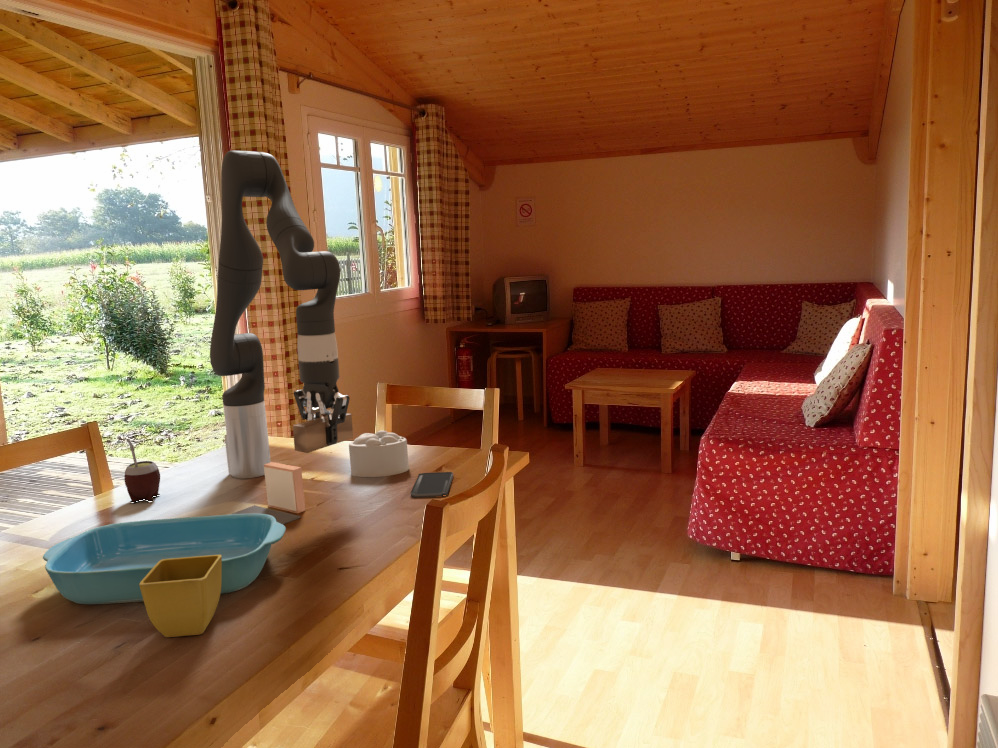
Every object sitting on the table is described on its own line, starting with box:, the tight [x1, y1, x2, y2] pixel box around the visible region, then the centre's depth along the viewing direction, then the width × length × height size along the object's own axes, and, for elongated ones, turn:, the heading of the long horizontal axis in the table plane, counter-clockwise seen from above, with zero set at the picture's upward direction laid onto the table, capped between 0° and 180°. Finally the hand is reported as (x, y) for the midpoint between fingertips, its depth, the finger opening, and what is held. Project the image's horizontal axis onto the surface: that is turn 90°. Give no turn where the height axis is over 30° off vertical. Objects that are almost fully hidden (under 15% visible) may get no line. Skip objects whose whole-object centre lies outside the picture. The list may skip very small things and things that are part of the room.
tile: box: [264, 461, 306, 514], centre depth 157 cm, size 9×2×9 cm, turn 55°
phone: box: [410, 471, 454, 499], centre depth 168 cm, size 8×1×15 cm
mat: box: [228, 504, 301, 526], centre depth 153 cm, size 14×8×1 cm, turn 55°
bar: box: [292, 412, 354, 454], centre depth 152 cm, size 4×12×5 cm, turn 144°
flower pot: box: [139, 555, 222, 638], centre depth 108 cm, size 9×9×9 cm
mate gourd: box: [124, 438, 161, 502], centre depth 167 cm, size 8×8×15 cm
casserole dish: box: [42, 513, 287, 605], centre depth 126 cm, size 37×22×7 cm, turn 96°
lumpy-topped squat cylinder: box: [348, 429, 410, 478], centre depth 181 cm, size 10×13×9 cm
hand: (324, 442), depth 153 cm, fingers closed on bar, 3 cm apart
